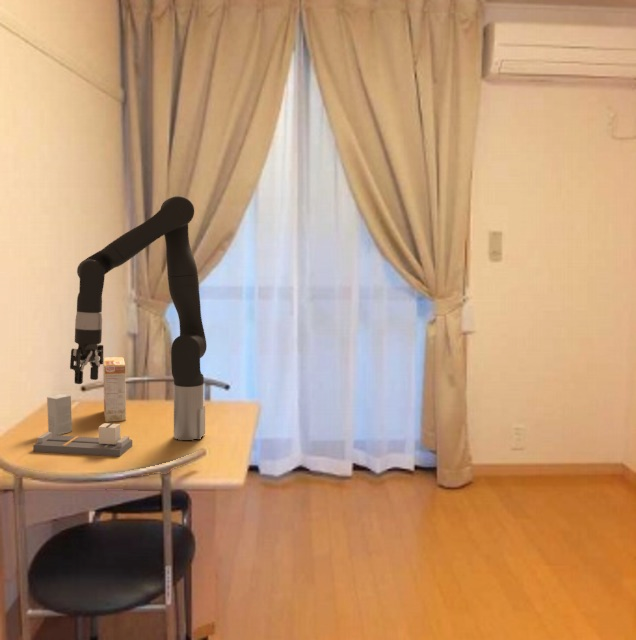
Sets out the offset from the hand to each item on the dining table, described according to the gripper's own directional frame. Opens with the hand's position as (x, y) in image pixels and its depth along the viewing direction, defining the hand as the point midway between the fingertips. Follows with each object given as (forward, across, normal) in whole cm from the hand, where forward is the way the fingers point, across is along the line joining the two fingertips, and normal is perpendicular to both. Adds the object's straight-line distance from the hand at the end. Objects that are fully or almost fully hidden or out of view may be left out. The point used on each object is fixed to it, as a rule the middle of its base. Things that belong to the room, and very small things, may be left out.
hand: (86, 381), depth 209 cm
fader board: (+20, -1, -1) cm, 20 cm away
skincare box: (+20, +11, +15) cm, 27 cm away
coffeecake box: (+18, +35, +9) cm, 41 cm away
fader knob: (+17, 0, -9) cm, 19 cm away
